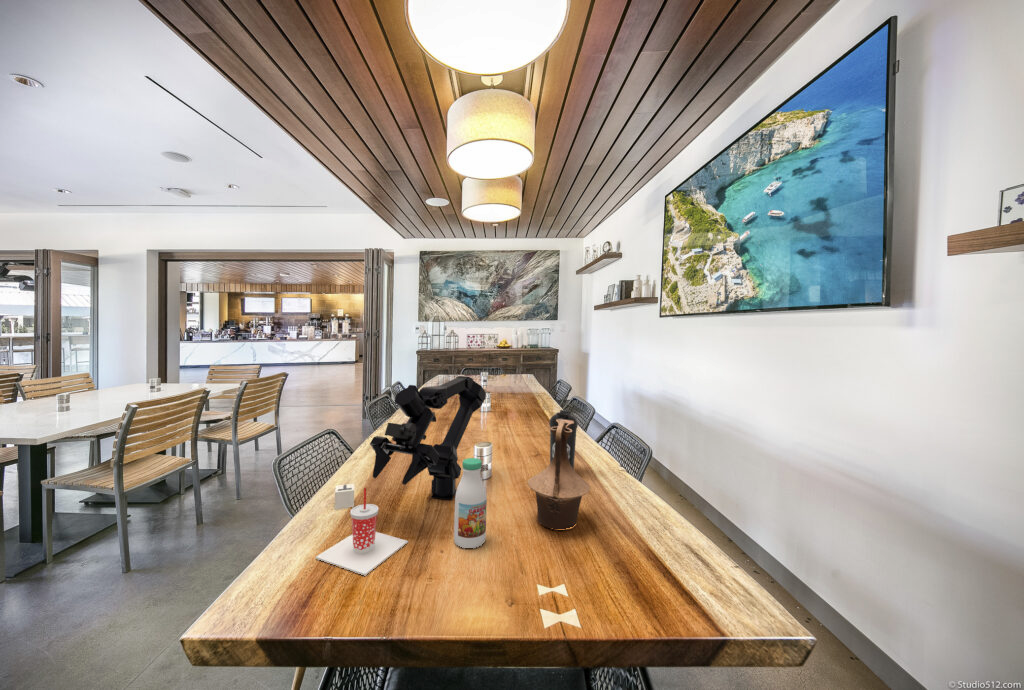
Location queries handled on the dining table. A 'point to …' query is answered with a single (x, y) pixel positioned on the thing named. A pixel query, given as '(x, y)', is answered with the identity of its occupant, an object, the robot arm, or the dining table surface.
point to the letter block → (344, 496)
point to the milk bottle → (470, 506)
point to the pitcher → (559, 485)
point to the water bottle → (572, 438)
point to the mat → (361, 562)
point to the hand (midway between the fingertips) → (388, 480)
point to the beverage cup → (364, 526)
